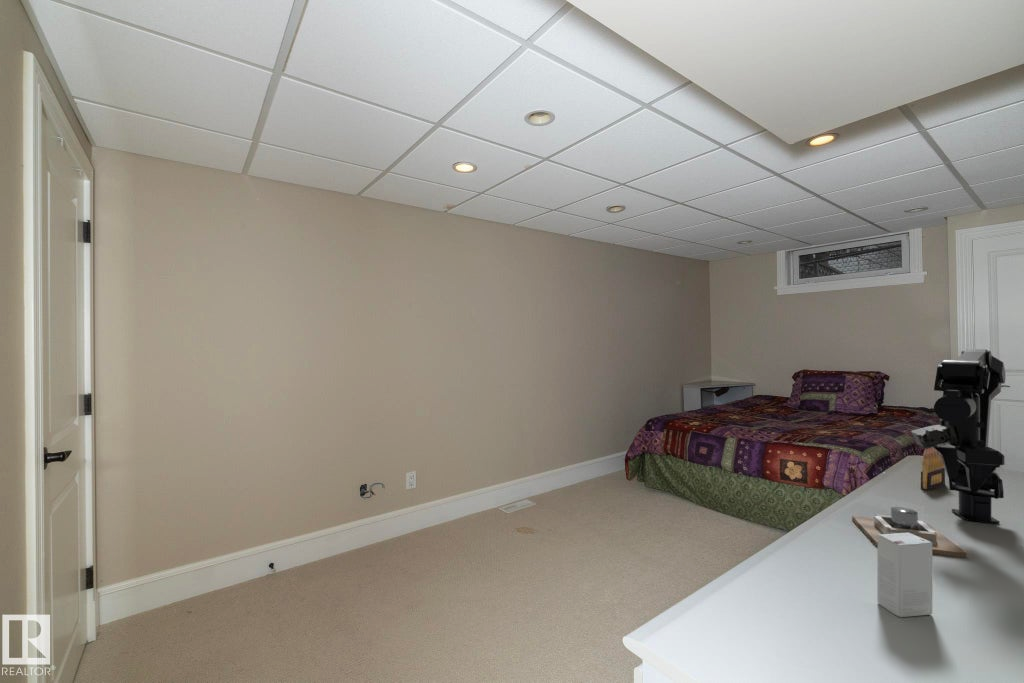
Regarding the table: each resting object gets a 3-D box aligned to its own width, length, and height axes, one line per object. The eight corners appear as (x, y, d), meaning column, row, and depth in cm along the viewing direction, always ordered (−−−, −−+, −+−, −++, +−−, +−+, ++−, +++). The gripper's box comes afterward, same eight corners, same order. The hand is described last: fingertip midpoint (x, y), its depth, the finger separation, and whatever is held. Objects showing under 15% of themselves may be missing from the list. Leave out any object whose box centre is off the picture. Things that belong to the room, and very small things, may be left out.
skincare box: (907, 600, 77) (907, 530, 77) (934, 616, 73) (934, 542, 73) (875, 603, 77) (874, 532, 77) (900, 619, 72) (900, 544, 72)
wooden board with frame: (852, 519, 111) (852, 507, 111) (929, 528, 106) (929, 515, 106) (876, 546, 97) (876, 532, 97) (966, 558, 92) (966, 543, 92)
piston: (887, 527, 104) (887, 505, 104) (912, 530, 103) (912, 508, 103) (895, 535, 100) (895, 513, 100) (921, 538, 98) (921, 515, 98)
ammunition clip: (928, 490, 131) (928, 449, 131) (920, 488, 133) (920, 448, 133) (945, 484, 136) (945, 445, 136) (937, 483, 138) (937, 443, 137)
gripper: (899, 407, 113) (900, 469, 114) (935, 422, 96) (936, 495, 97) (957, 409, 109) (957, 473, 110) (1006, 425, 92) (1006, 501, 92)
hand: (962, 484), depth 102 cm, fingers open, 9 cm apart
